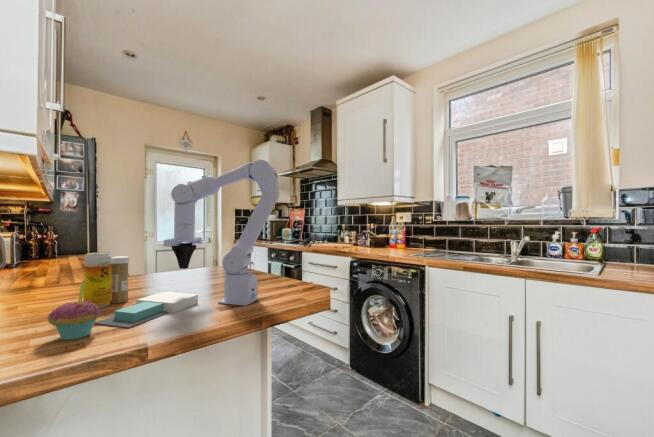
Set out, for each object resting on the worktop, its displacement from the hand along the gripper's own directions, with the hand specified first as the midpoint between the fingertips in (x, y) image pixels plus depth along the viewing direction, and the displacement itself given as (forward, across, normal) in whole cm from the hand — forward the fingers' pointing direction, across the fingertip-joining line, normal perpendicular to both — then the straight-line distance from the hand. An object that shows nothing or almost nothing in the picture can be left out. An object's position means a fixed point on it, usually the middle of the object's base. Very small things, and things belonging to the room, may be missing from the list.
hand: (183, 268), depth 92 cm
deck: (+10, +6, 0) cm, 12 cm away
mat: (+10, +18, 0) cm, 20 cm away
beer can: (+10, +12, -18) cm, 24 cm away
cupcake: (+10, +30, -2) cm, 32 cm away
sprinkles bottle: (+10, +7, -17) cm, 21 cm away
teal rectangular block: (+10, +16, 0) cm, 18 cm away
